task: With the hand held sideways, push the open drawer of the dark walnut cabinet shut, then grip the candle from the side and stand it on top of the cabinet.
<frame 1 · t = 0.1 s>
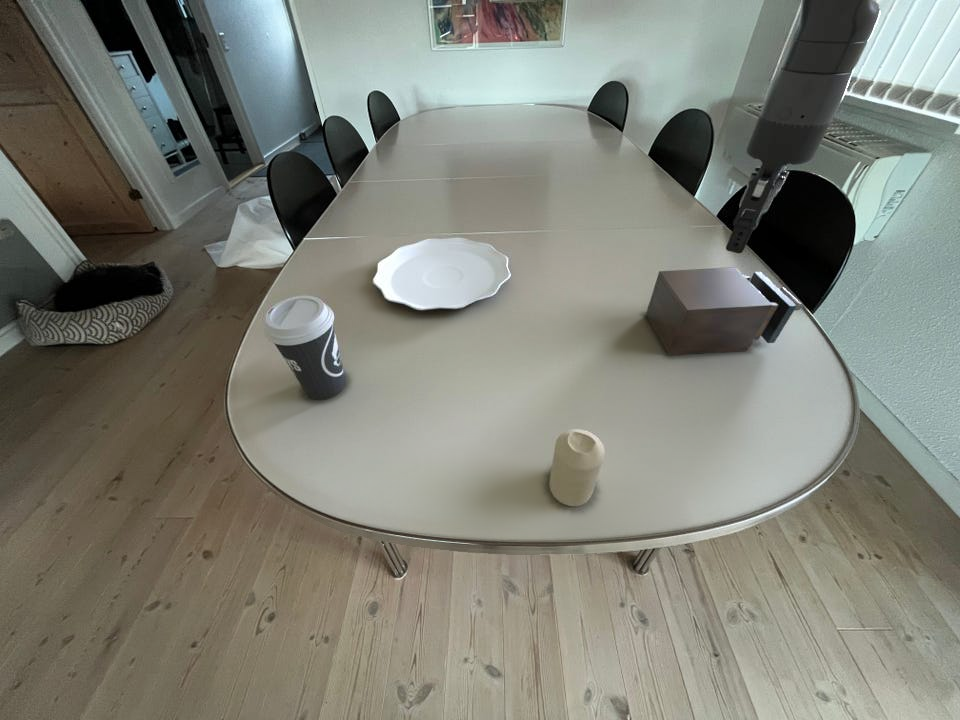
hand: (740, 239, 60), 19 cm above the table, tool pointing down, fingers open, 8 cm apart
candle: (570, 487, 52), on the table
coffee cup: (326, 385, 67), on the table
cabinet: (693, 331, 74), on the table
plate: (443, 279, 90), on the table
drawer: (743, 308, 71), point 5 cm above the table, slide at 3.5 cm
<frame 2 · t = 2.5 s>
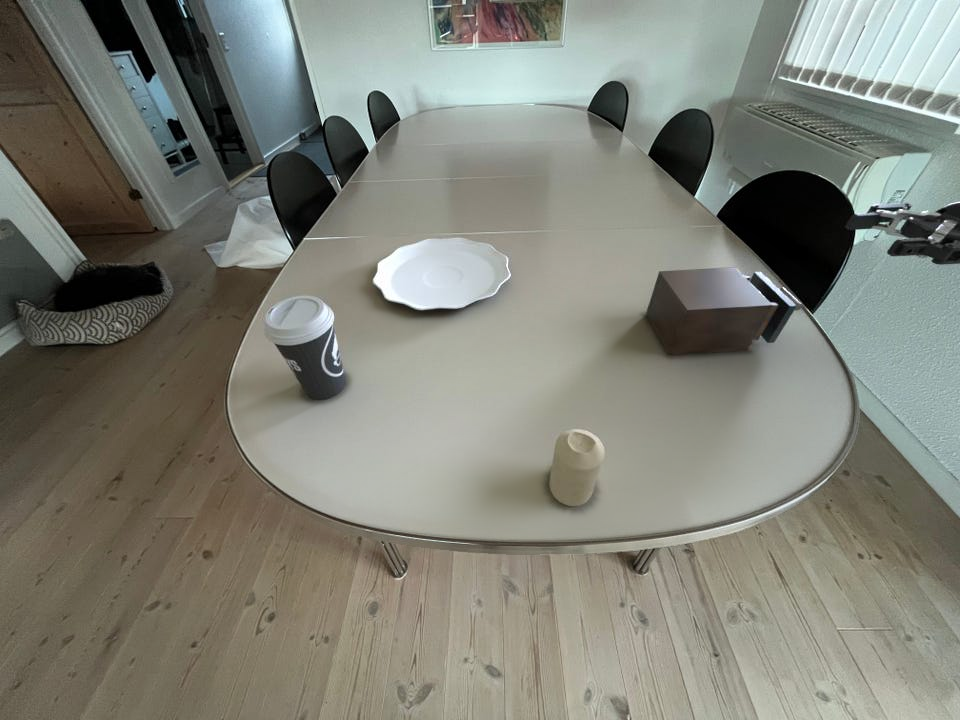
hand: (870, 234, 57), 20 cm above the table, tool horizontal, fingers open, 7 cm apart
nothing on the table moved.
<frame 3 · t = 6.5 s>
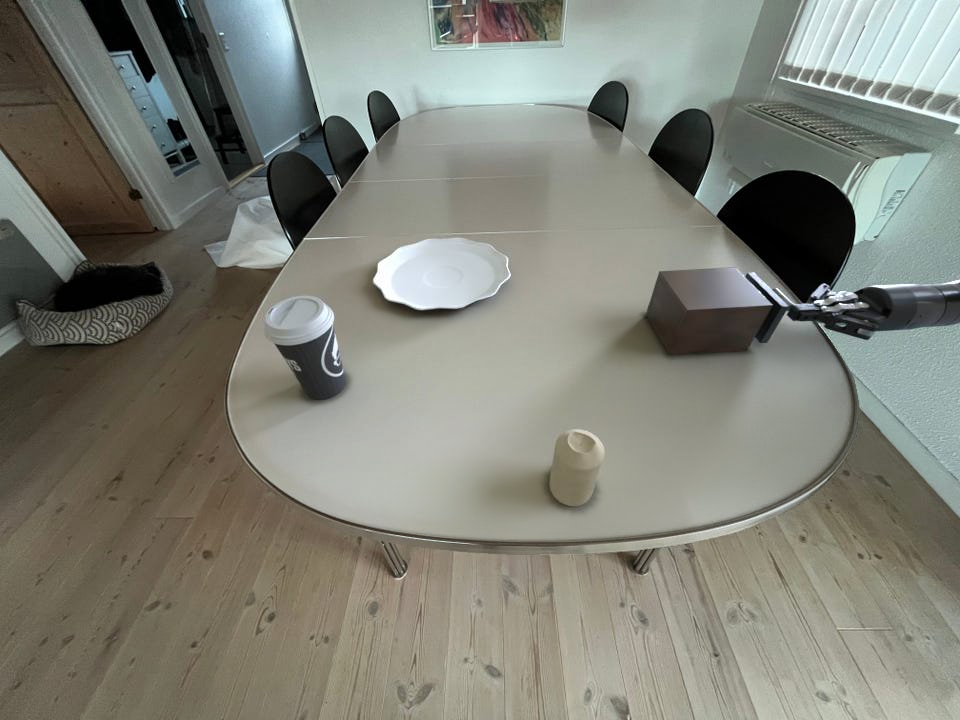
hand: (791, 313, 67), 7 cm above the table, tool horizontal, fingers closed
drawer: (736, 308, 71), point 5 cm above the table, slide at 2.2 cm, touching gripper
everything else where it was.
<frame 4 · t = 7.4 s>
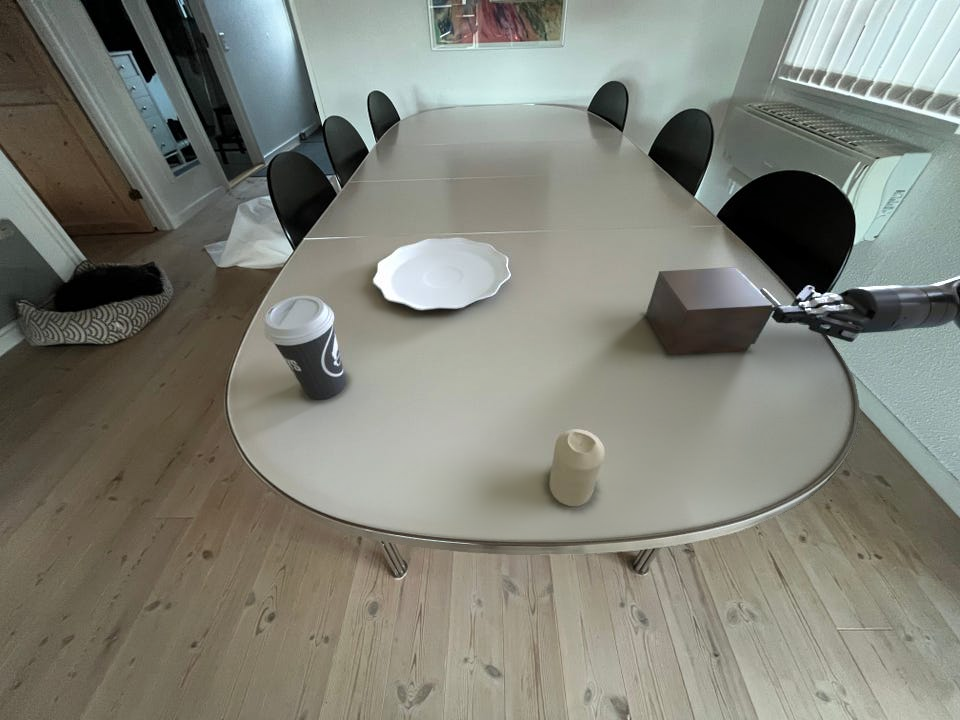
hand: (776, 315, 66), 6 cm above the table, tool horizontal, fingers closed
drawer: (723, 309, 71), point 5 cm above the table, slide at 0.0 cm, touching cabinet, gripper
everything else where it was.
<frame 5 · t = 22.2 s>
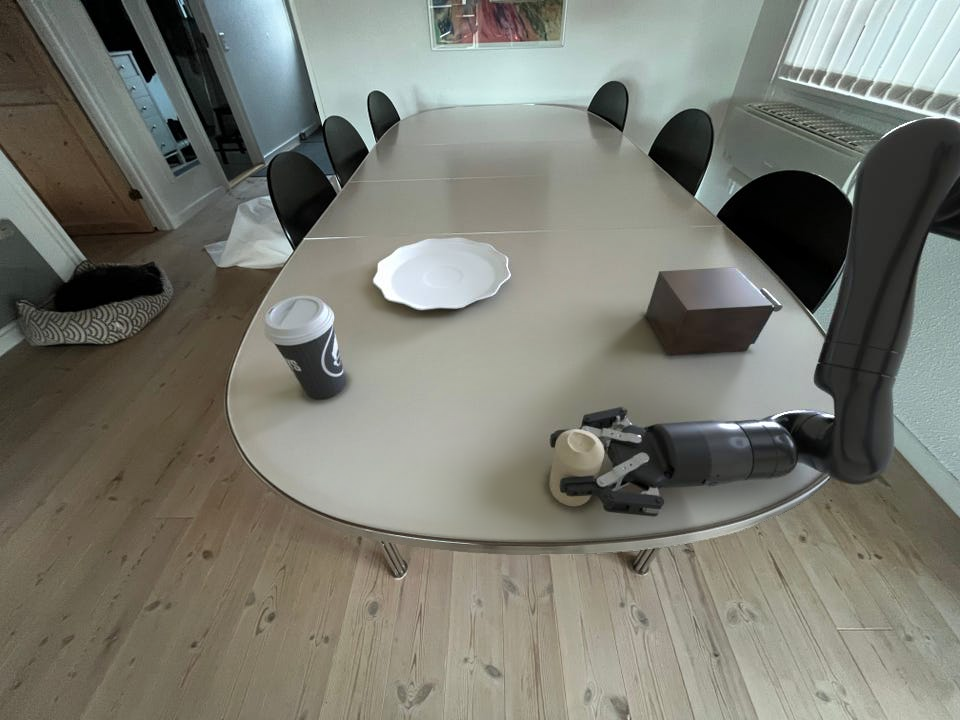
hand: (556, 462, 48), 6 cm above the table, tool horizontal, fingers closed on candle, 5 cm apart
candle: (570, 487, 52), on the table, touching gripper
drawer: (723, 309, 71), point 5 cm above the table, slide at 0.0 cm, touching cabinet
everything else where it was.
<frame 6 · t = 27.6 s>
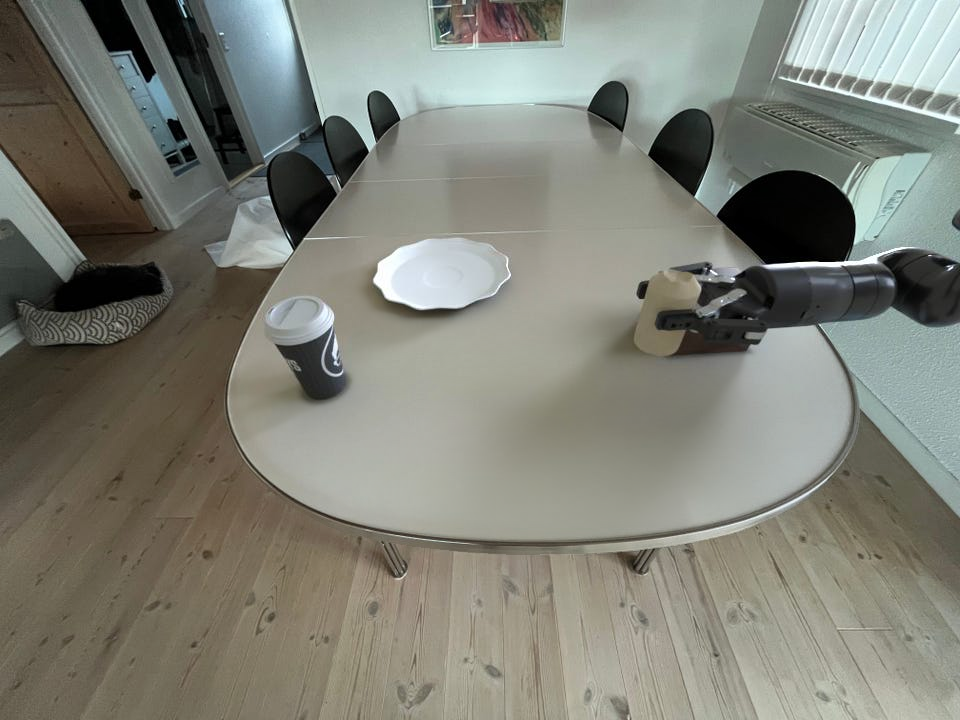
hand: (648, 305, 48), 20 cm above the table, tool horizontal, fingers closed on candle, 5 cm apart
candle: (655, 343, 52), point 13 cm above the table, touching gripper
everything else where it was.
when the fingers open (16 cm above the table, at t = 33.4 s): candle stays where it is, resting on cabinet.
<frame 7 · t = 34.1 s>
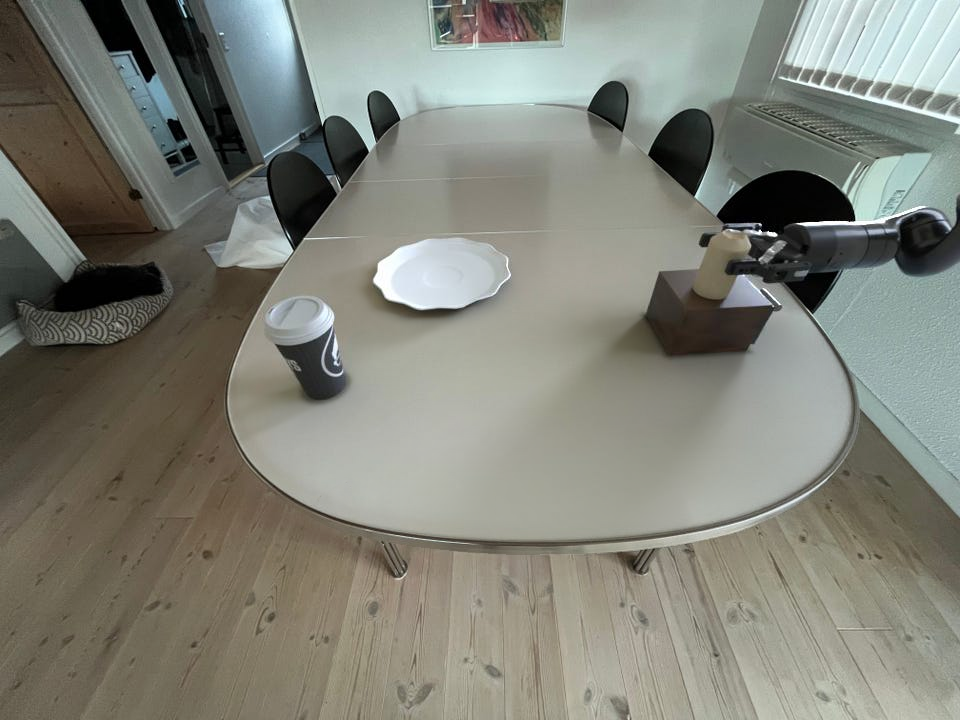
hand: (713, 253, 62), 16 cm above the table, tool horizontal, fingers open, 8 cm apart
candle: (709, 291, 67), point 9 cm above the table, touching cabinet
everything else where it was.
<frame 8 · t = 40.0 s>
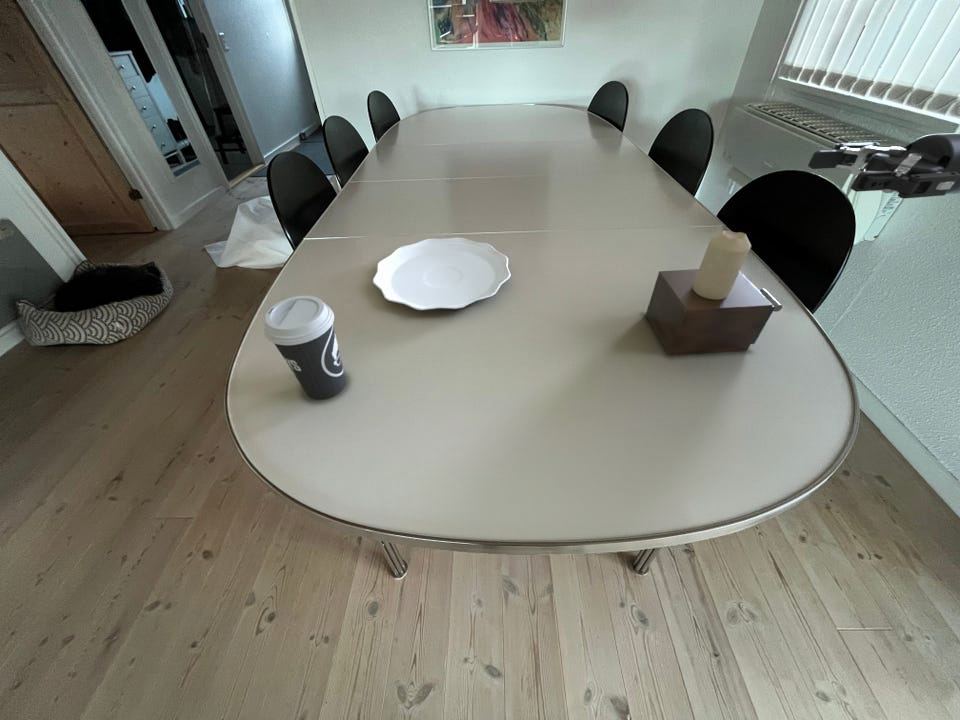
hand: (833, 170, 54), 28 cm above the table, tool horizontal, fingers open, 8 cm apart
nothing on the table moved.
at the end: drawer slide at 0.0 cm; candle inside the target area on the cabinet (1.3 cm from its centre), point 9.4 cm above the cabinet's base; candle tilted 0° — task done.
